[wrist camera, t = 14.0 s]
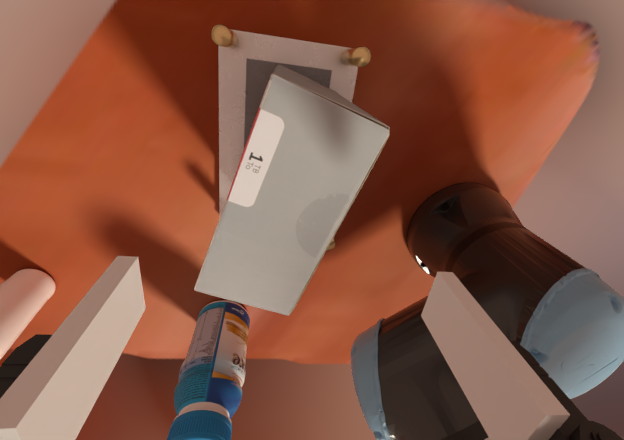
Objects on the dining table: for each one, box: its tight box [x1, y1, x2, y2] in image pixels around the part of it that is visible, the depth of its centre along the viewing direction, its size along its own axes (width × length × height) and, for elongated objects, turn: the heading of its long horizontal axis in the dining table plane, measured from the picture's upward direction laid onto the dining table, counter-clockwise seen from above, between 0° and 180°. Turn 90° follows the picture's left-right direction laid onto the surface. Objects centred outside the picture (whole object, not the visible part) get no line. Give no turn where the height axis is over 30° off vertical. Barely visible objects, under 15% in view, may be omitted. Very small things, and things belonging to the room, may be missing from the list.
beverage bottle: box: [167, 300, 250, 440], centre depth 42 cm, size 8×8×20 cm
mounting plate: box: [211, 25, 371, 250], centre depth 35 cm, size 15×22×7 cm
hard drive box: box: [194, 65, 390, 316], centre depth 28 cm, size 16×8×20 cm, turn 155°
